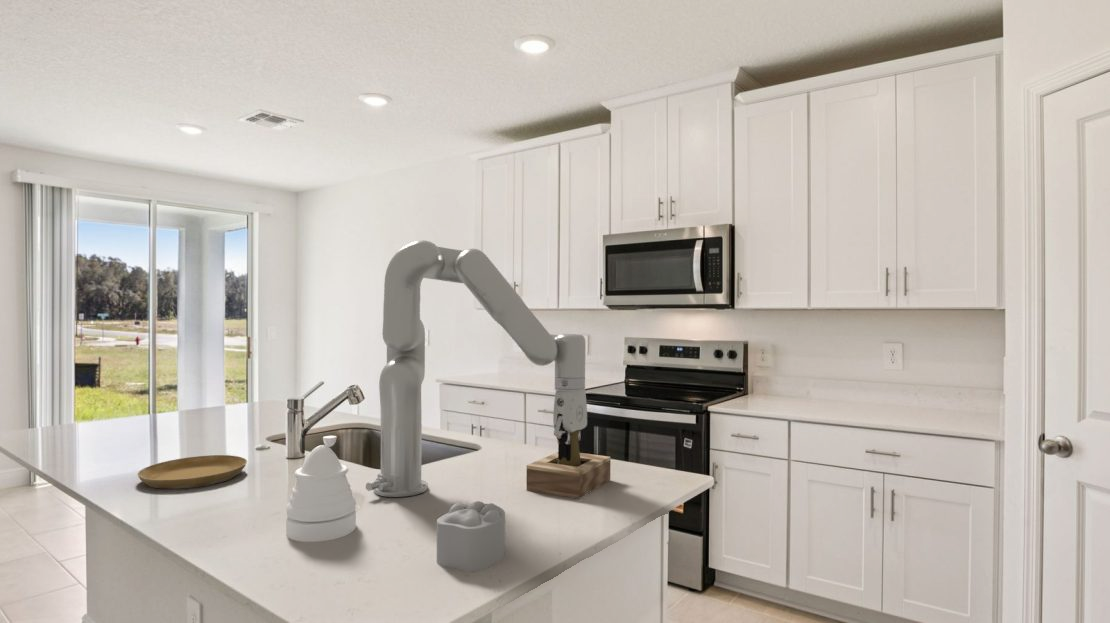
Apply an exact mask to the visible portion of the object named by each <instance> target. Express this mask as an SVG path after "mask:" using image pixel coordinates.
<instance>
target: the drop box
mask: <svg viewBox="0 0 1110 623" xmlns="http://www.w3.org/2000/svg"><path fill="white" fill-rule="evenodd" d="M580 461H581V465H580V466H578V467H575V466H568V465H561V464H557V462H558V451H557V452H555V453H553V454H551V455H548V456H546V457H543V458H541V459H538V460H535V461H533V462H531V463H528V464H527V465H526V491H530V492H534V493H535V492H536V493H540V492H541V494H547V495H553V496H558V497H564V496H567V497H566V498H570V497H573V498H572V499H576V498H579V499H581V498H583V497H585V496H586V495H587V493H588V494H589V492H590V491H591V492H593V491H595V490H597V489H598V488H599V486H600V487H602V486H603V485H605V484H607V483H609V482H610V481H611V456H607V455H599V454H591V453H583V452H580ZM606 482H607V483H606ZM604 483H605V484H604ZM601 485H602V486H601ZM597 487H598V488H597ZM594 489H595V490H594ZM592 490H593V491H592ZM591 492H590V493H591ZM585 494H586V495H585ZM582 496H583V497H582ZM580 497H581V498H580Z"/></svg>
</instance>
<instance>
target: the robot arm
mask: <svg viewBox="0 0 1110 623" xmlns="http://www.w3.org/2000/svg"><path fill="white" fill-rule="evenodd" d="M423 279H429V280H434V281H435V280H436V281H443V282H449V283H456V284H464V286H465V287H466V288H467V289H468V290H469V291H470V292H471V293H472V295H473V296H474V297H475V299H476V300H477V301H478V302H479V304H480V305H481V306H482V307H483V309H484V310H485V311H486V312H487V314H488V315H490V317H491V318H492V319H493V320H494V322H496V323H497V324H498V325H499V326H501V327H502V328H503V329H504V331H505V332H506V333H507V334H508V336H510V337H511V339H512V340H513V341H514V342H515V343H516V344H517V346H518V347H519V348H520V350H521V351H522V352H523V353H524V355H525V357H526V358H527V359H528V360H529V361H530V362H531V363H532V364H534V365H536V366H540V367H541V366H543V367H544V366H547V365H550V364H552V362H554V391H555V393H554V400H553V402H554V403H553V416H552V418H553V420H552V421H553V430H554V431H553V435H554V436H555V438H556V439H557V441H556V442H557V444H558V445H557V446H558V448H557V449H558V450H557V452H558V459H559V460H561V459H562V458H565V457H566V460H567V461H570V460H571V444H569V442H570V433H572V432H575V431H577V430H580V432H579V434H578V443H579V452H580V453H581V451H580V448H581V447H580V444H581V442H580V441H581V438H582V437H581V434H582V430H583V429H585V428H587V426H588V406H587V396H586V395H587V394H586V344H587V343H586V338H585V336H584V335H582V334H579V333H563V334H550V332H549V331H548V330H547V329H546V327H545V326H544V325H543V324H542V323H541V322H540V320H539V319H538V318H537V317H536V316H535V315H534V313H533V312H532V311H531V310H530V308H529V307H528V306H527V305H526V303H525V302H524V301H523V299H522V297H521V296H520V295H519V294H518V292H517V291H516V290H515V289H514V287H513V286H512V285H511V284H510V283H509V282H508V281H507V279H506V278H505V277H504V275H503V274H502V273H501V272H500V271H499V270H498V268H497V266H495V264H494V263H493V262H492V261H491V259H490V258H489V257H488V256H487V254H485V253H484V252H483V251H482V250H480V249H477V248H468V249H465V250H464V249H463V250H461V249H455V248H449V247H444V246H443V247H441V246H437V245H436V243H433V242H432V241H430V240H415V241H413V242H410V243H409V244H407V245H405V246H403V247H402V248H400V249H399V250H398V251H396V252H395V254H393V257H392V258H391V259H390V261H389V262H388V264H387V268H386V271H385V276H384V285H383V286H384V287H383V288H384V289H383V310H382V311H383V312H382V315H383V318H382V332H381V334H382V339H383V342H384V344H385V345H386V364H385V365H384V366H383V368H382V370H381V372H380V375H379V383H378V388H379V390H378V391H379V404H380V408H379V409H380V473H378V474H377V478H376V479H375V480H371V481H368V482H367V483H366V484H365V489H366V491H368V492H371V491H373V492H374V493H375V495H378V496H382V497H386V498H388V497H389V498H403V497H412V496H416V495H421V494H422V493H424V492H426V491H428V488H429V484H428V482H427V481H426V480H424V479H422V443H423V442H422V428H423V426H422V425H423V424H422V384H423V382H424V379H425V375H426V374H425V371H426V370H425V369H426V367H425V366H426V364H425V362H426V352H425V351H426V350H425V349H426V331H425V325H424V322H422V319H421V284H422V281H423ZM562 428H565V430H566V431H561V430H562ZM562 433H564V434H566V437H565V435H564V434H562Z"/></svg>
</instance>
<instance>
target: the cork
mask: <svg viewBox="0 0 1110 623" xmlns="http://www.w3.org/2000/svg"><path fill="white" fill-rule="evenodd" d="M561 431H566V430H565V428H562V430H561ZM579 432H580V430H577V431H575V432H572V433H570V442H569V444H571V460H570V461H567V460H566V457H565V458H562V459H561V460H559V459H558V462H557V464H561V465H568V466H575V467H578V466H580V465H581V461H580V453H581V451H580V452H579V443H578V441H579V440H578V434H579ZM562 434H564V433H562ZM564 435H565V437H566V434H564Z"/></svg>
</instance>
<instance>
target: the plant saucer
mask: <svg viewBox="0 0 1110 623" xmlns="http://www.w3.org/2000/svg"><path fill="white" fill-rule="evenodd" d="M247 462H248V460H247V459H246V458H244V457H242V456H237V455H230V454H229V455H227V454H216V455H212V454H211V455H195V456H189V457H182V458H177V459H171V460H166V461H162V462H158V463H155V464H151V465H149V466H146V467H144V468H142V469H141V470H139V471H138V472H137V476H138V478H139V479H140V481H141V482H143V483H144V484H145V485H147V486H148V487H149V486H150V487H151V488H154V489H162V490H163V489H164V490H180V489H192V488H200V487H206V486H211V485H216V484H219V483H223V482H225V481H229V480H231V479H233V478H234V477H236V476H237V475H238V474H240V473H242V471H243V470H244V469H245V467H246V464H247Z"/></svg>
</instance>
